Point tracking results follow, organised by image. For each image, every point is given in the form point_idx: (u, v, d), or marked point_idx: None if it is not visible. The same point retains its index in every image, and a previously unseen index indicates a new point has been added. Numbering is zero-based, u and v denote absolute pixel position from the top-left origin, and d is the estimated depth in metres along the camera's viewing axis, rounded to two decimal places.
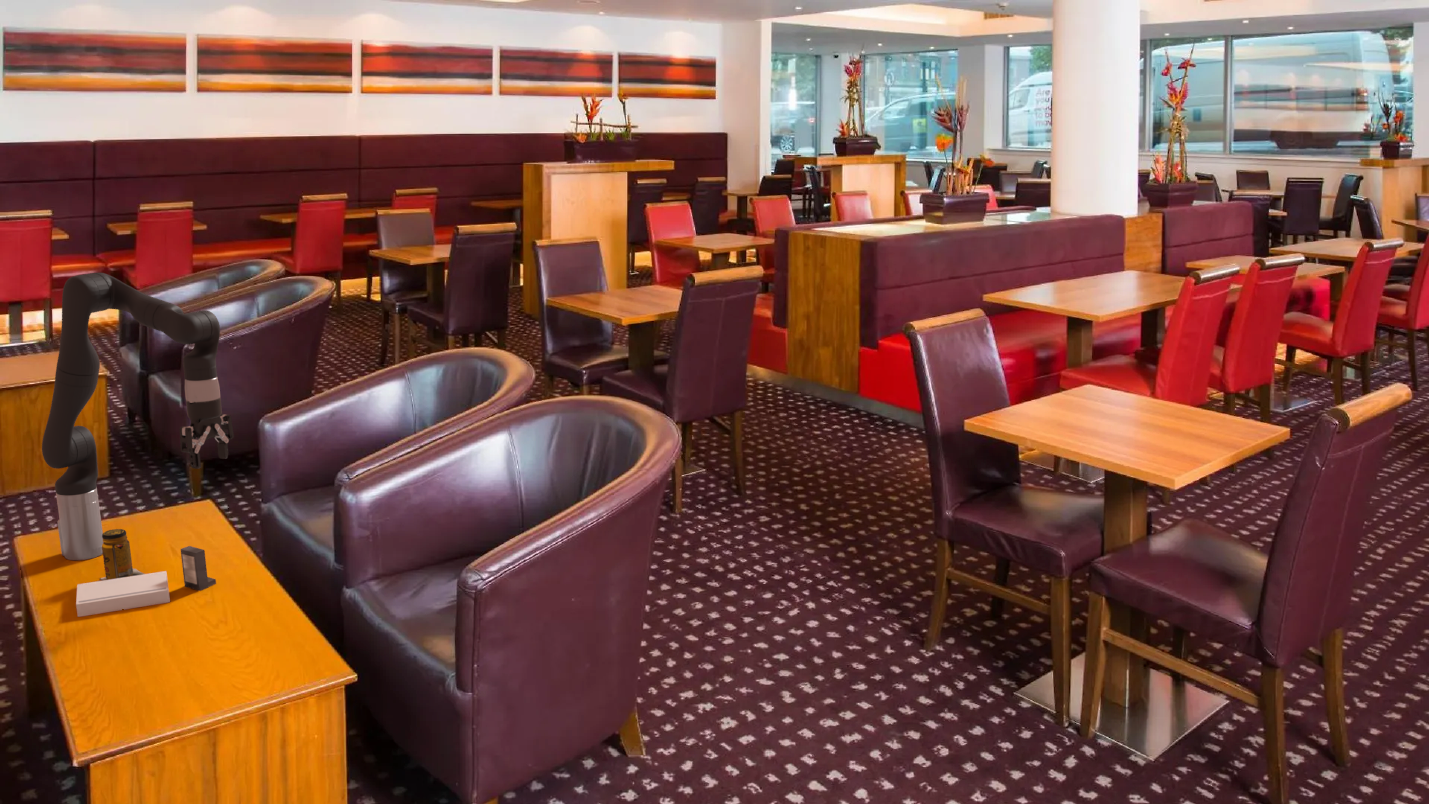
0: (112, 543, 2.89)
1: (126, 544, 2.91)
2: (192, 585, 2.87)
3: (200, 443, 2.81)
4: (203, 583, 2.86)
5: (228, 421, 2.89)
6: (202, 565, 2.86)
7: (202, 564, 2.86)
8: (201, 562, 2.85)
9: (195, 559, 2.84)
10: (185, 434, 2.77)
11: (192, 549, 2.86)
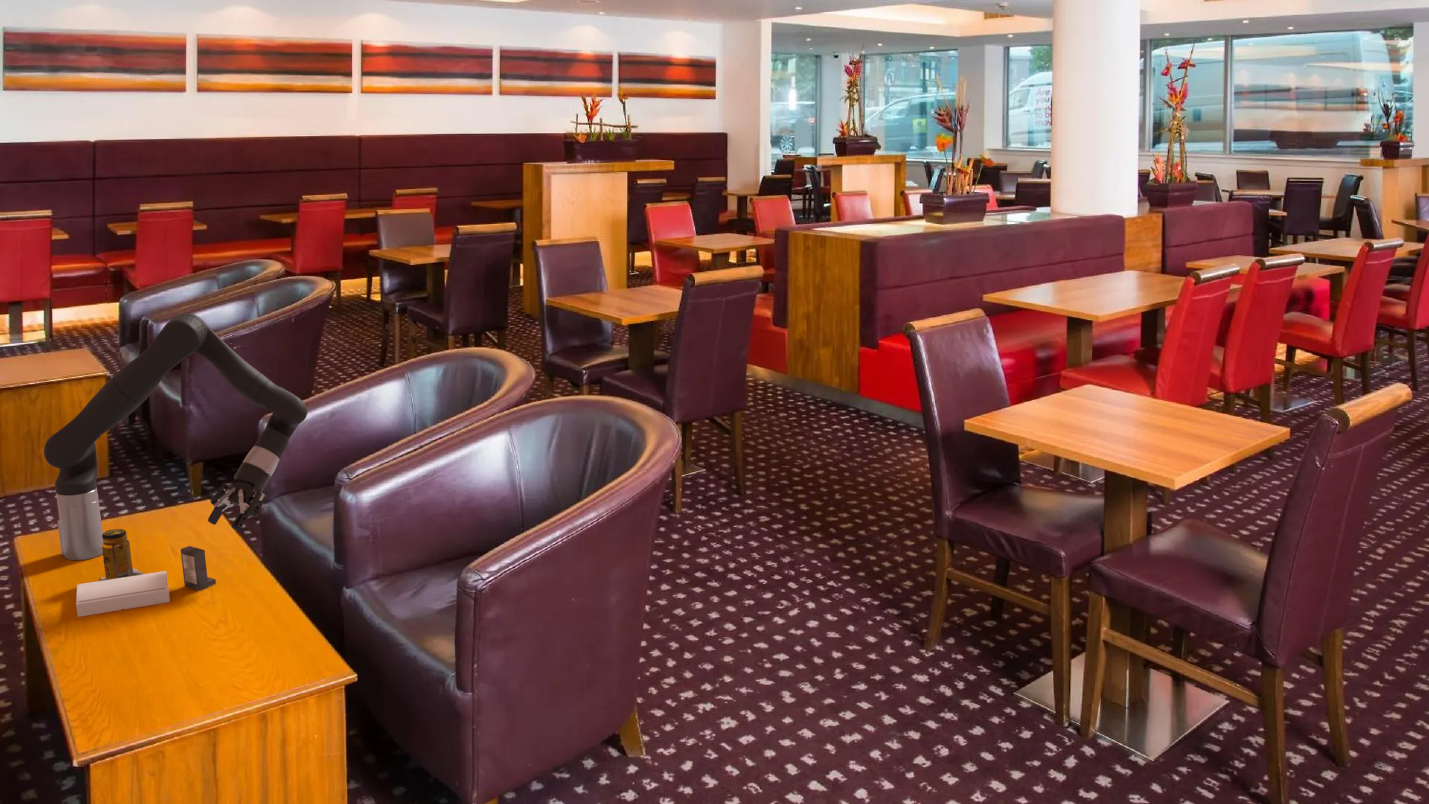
0: (112, 543, 2.89)
1: (126, 544, 2.91)
2: (192, 585, 2.87)
3: None
4: (203, 583, 2.86)
5: None
6: (202, 565, 2.86)
7: (202, 564, 2.86)
8: (201, 562, 2.85)
9: (195, 559, 2.84)
10: (262, 499, 2.94)
11: (192, 549, 2.86)
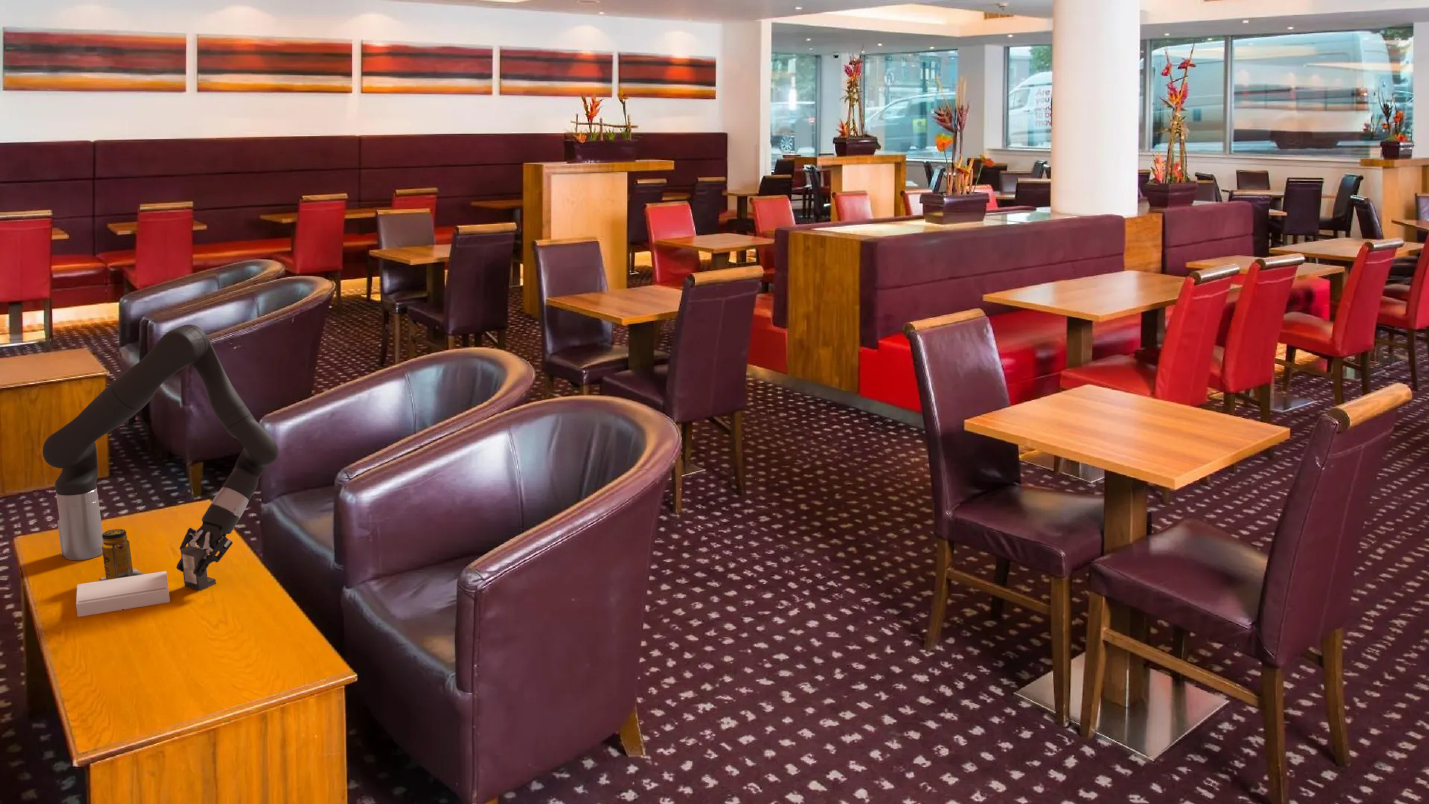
0: (112, 543, 2.89)
1: (126, 544, 2.91)
2: (192, 585, 2.87)
3: None
4: (203, 583, 2.86)
5: None
6: None
7: None
8: None
9: (194, 559, 2.84)
10: (227, 546, 2.86)
11: (191, 549, 2.86)
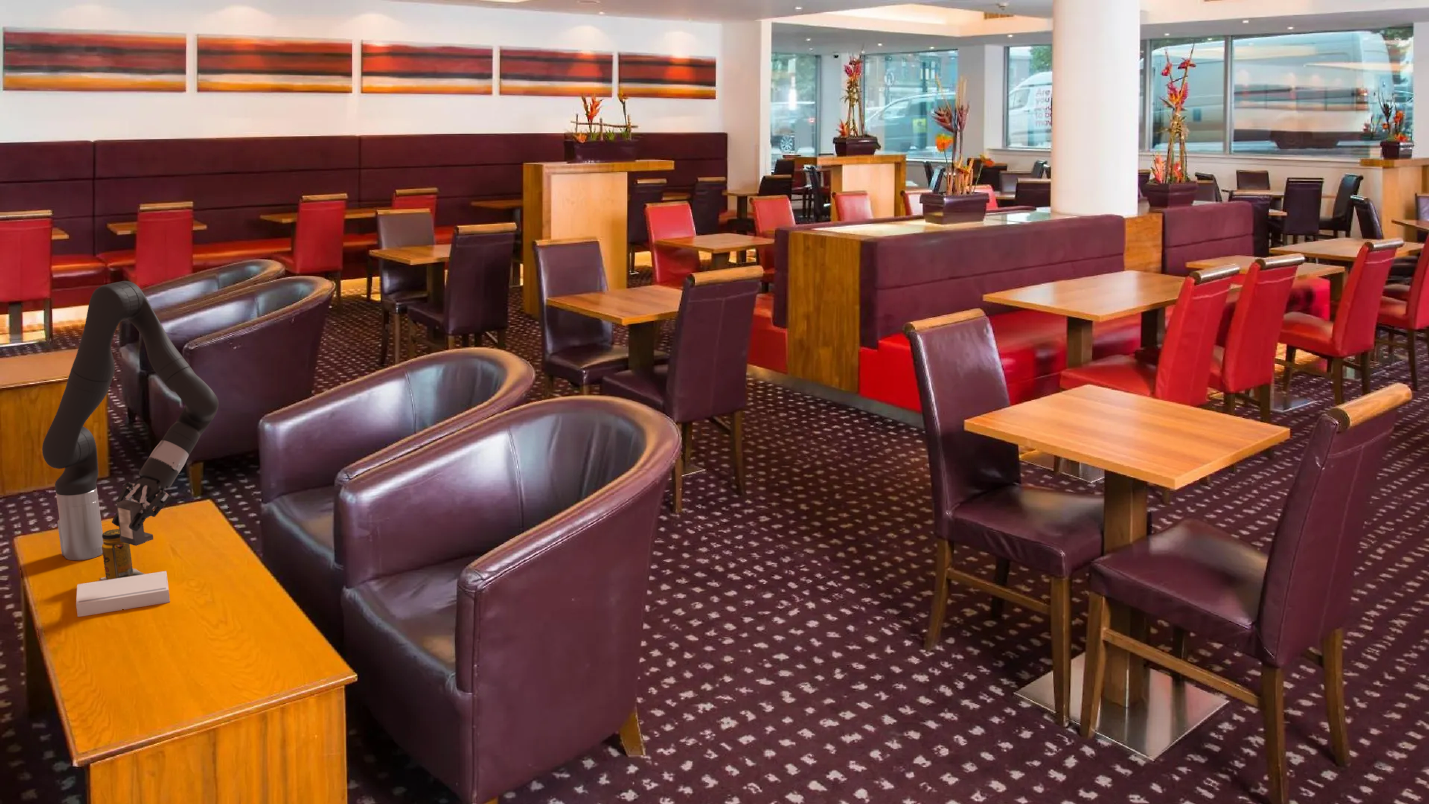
0: (112, 543, 2.89)
1: (126, 544, 2.91)
2: (128, 540, 2.78)
3: None
4: (139, 538, 2.78)
5: None
6: None
7: None
8: None
9: (130, 513, 2.76)
10: (165, 500, 2.78)
11: (128, 503, 2.77)
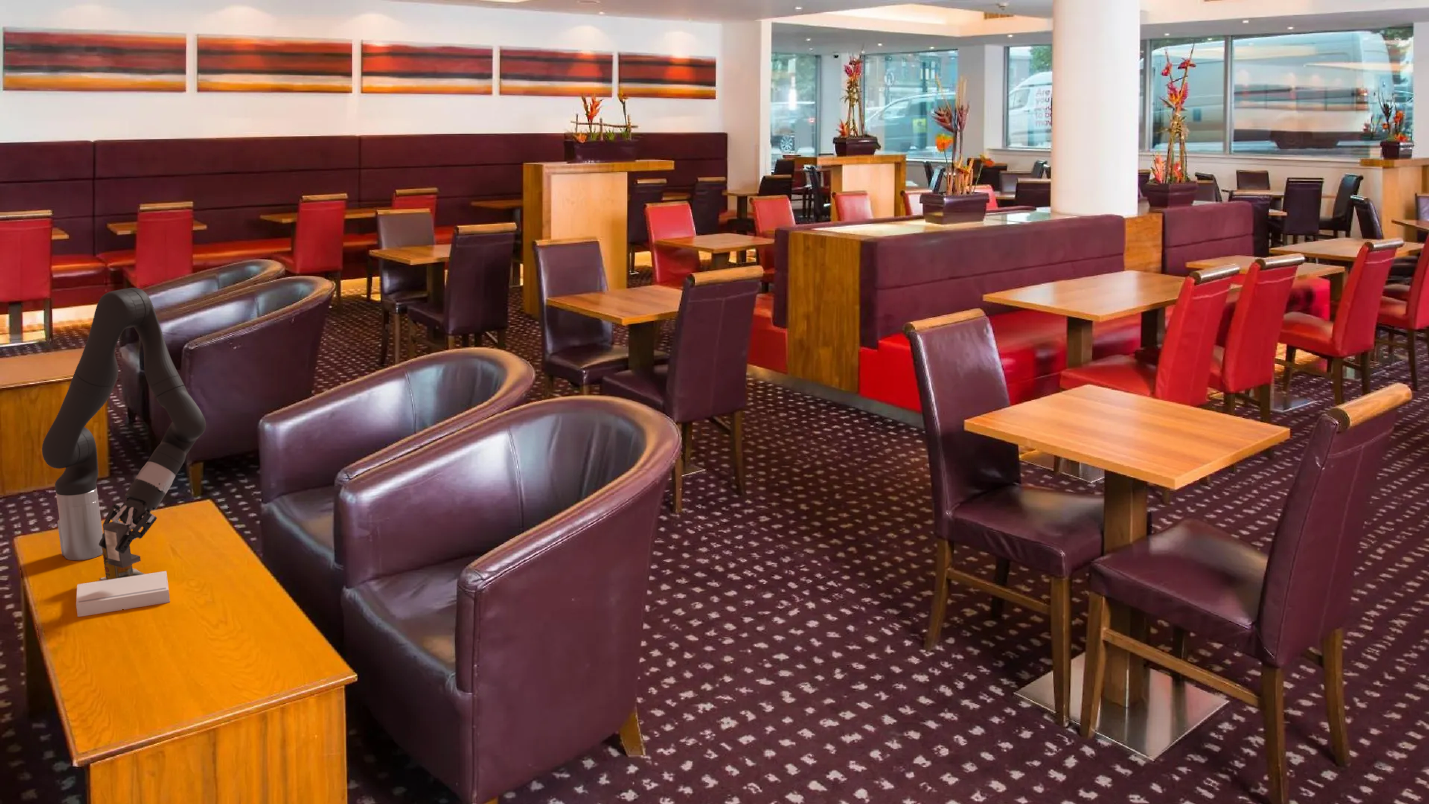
0: None
1: None
2: (115, 562, 2.77)
3: (138, 530, 2.79)
4: (126, 560, 2.77)
5: None
6: None
7: None
8: None
9: (117, 535, 2.75)
10: (151, 522, 2.77)
11: (114, 525, 2.77)
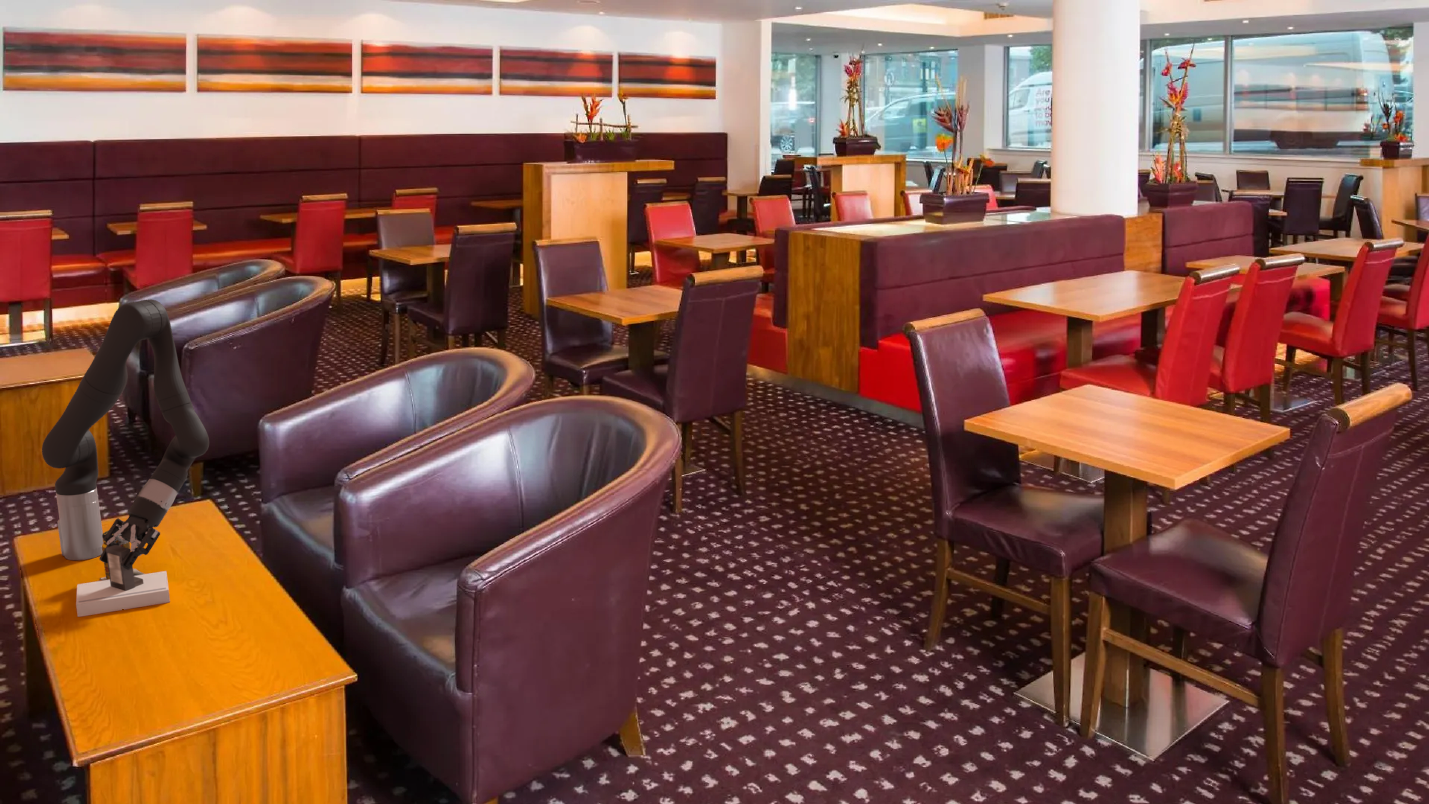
0: None
1: (126, 544, 2.91)
2: (118, 585, 2.79)
3: None
4: (129, 583, 2.79)
5: None
6: None
7: None
8: None
9: (120, 558, 2.76)
10: (155, 537, 2.78)
11: (117, 548, 2.78)
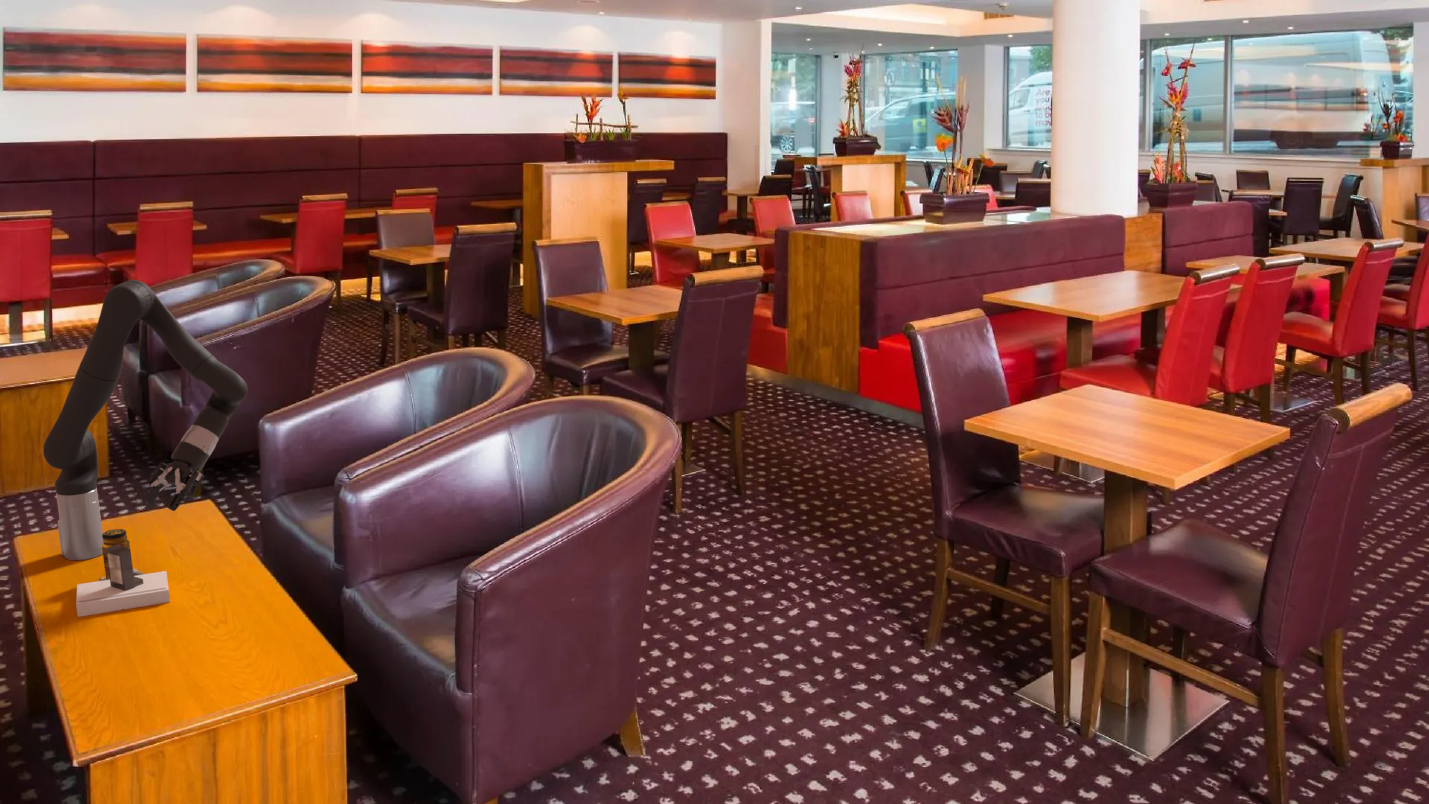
0: (112, 543, 2.89)
1: (126, 544, 2.91)
2: (118, 585, 2.79)
3: None
4: (129, 583, 2.79)
5: None
6: (128, 564, 2.78)
7: (128, 564, 2.78)
8: (127, 561, 2.77)
9: (120, 558, 2.76)
10: (199, 479, 2.87)
11: (117, 548, 2.78)
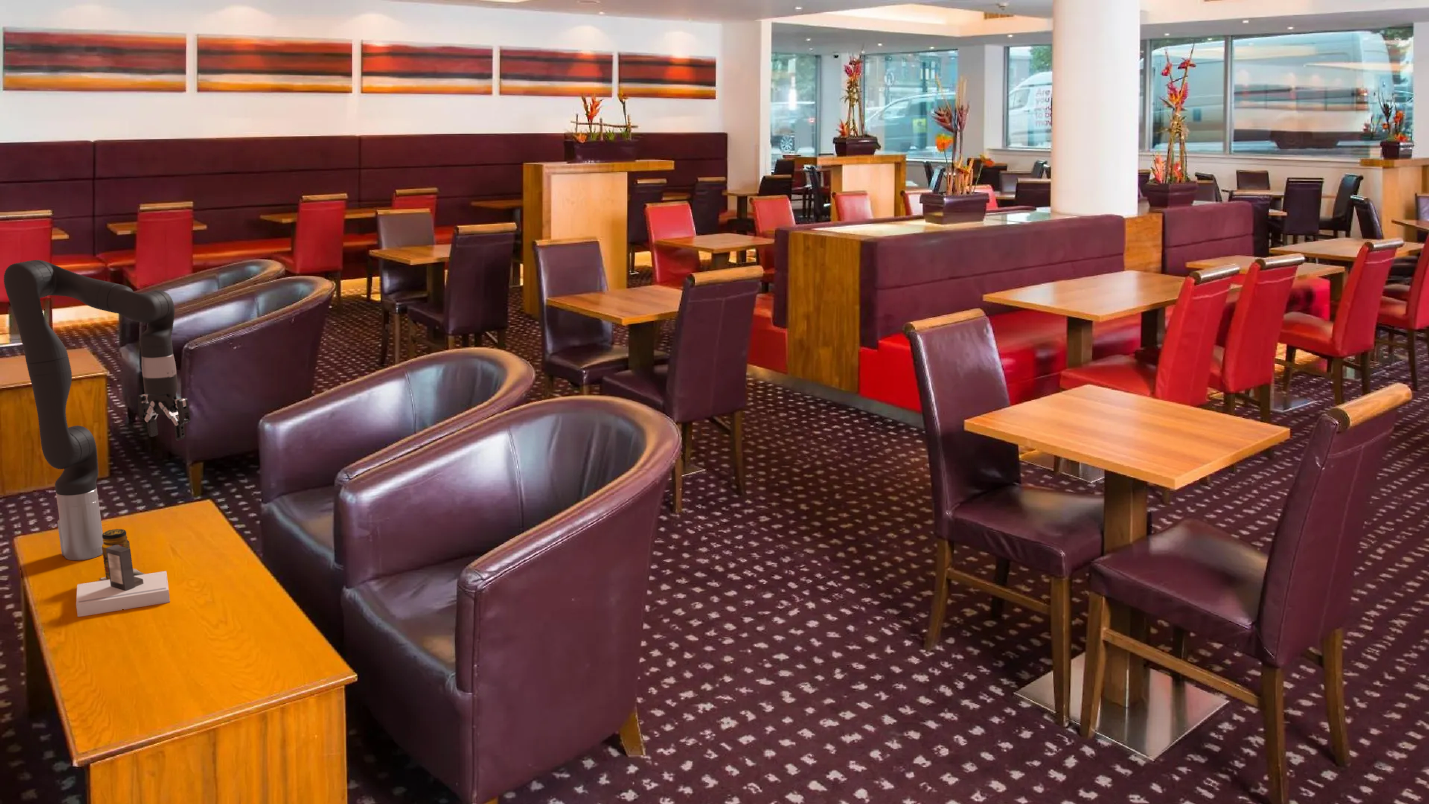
0: (112, 543, 2.89)
1: (126, 544, 2.91)
2: (118, 585, 2.79)
3: None
4: (129, 583, 2.79)
5: None
6: (128, 564, 2.78)
7: (128, 564, 2.78)
8: (127, 561, 2.77)
9: (120, 558, 2.76)
10: (186, 404, 2.93)
11: (117, 548, 2.78)
